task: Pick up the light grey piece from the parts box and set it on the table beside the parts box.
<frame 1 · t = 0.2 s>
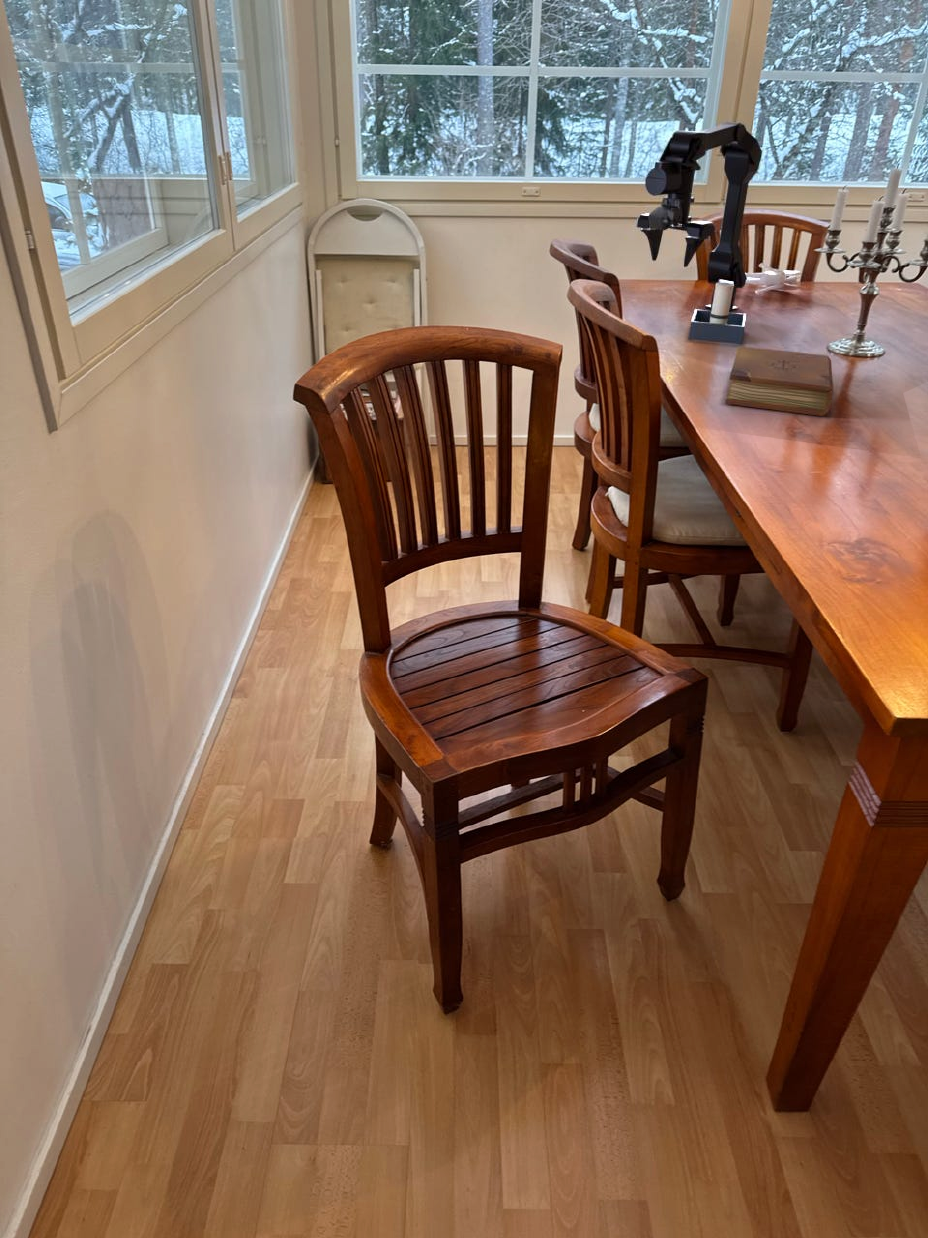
hand: (669, 263, 212), 14 cm above the table, tool pointing down, fingers open, 9 cm apart
figurine: (761, 291, 257), on the table
diary: (776, 394, 175), on the table
light grey piece: (715, 336, 209), point 1 cm above the table, touching parts box
parts box: (715, 337, 211), on the table
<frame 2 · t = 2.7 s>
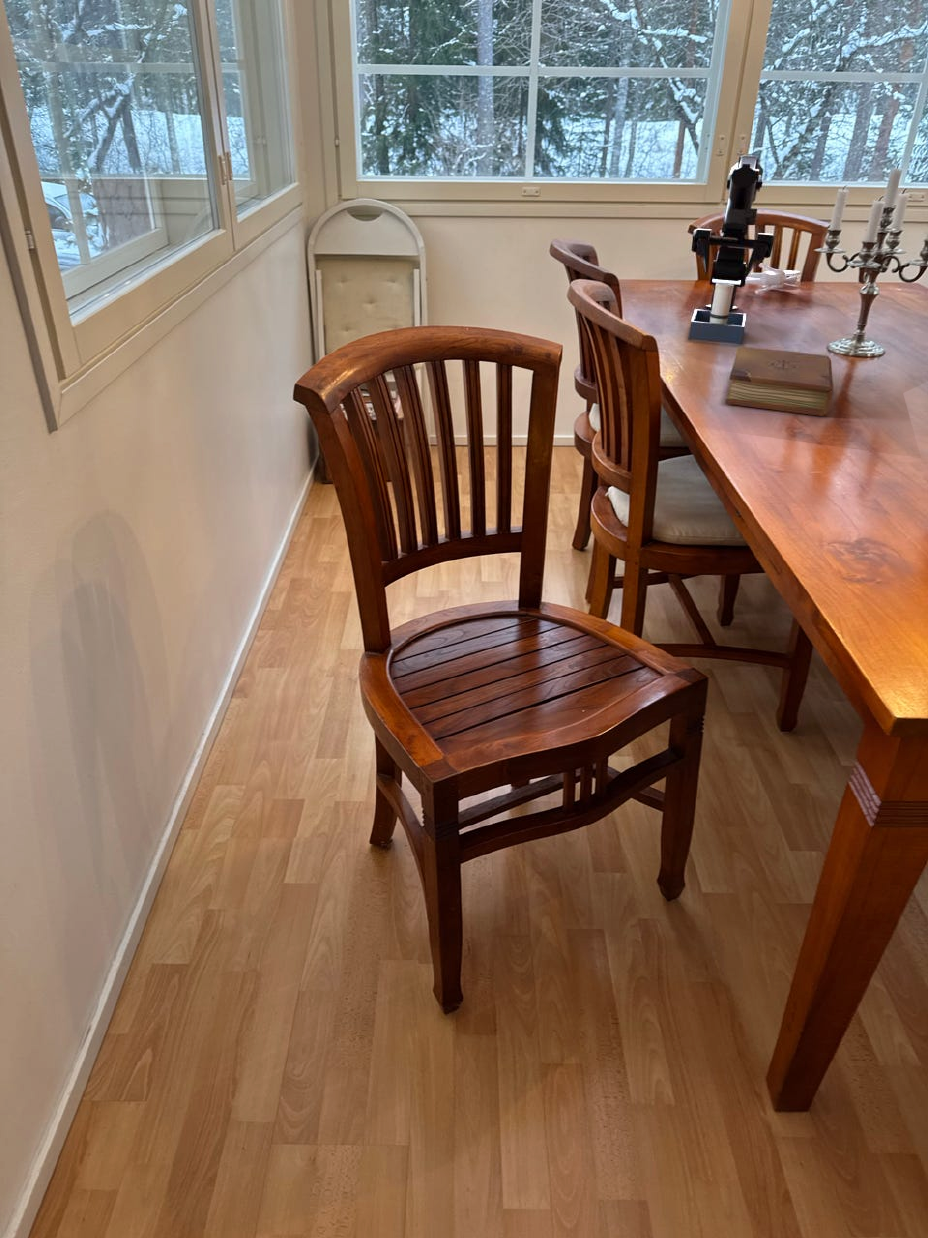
hand: (726, 274, 209), 13 cm above the table, tool tilted 45°, fingers open, 9 cm apart
nothing on the table moved.
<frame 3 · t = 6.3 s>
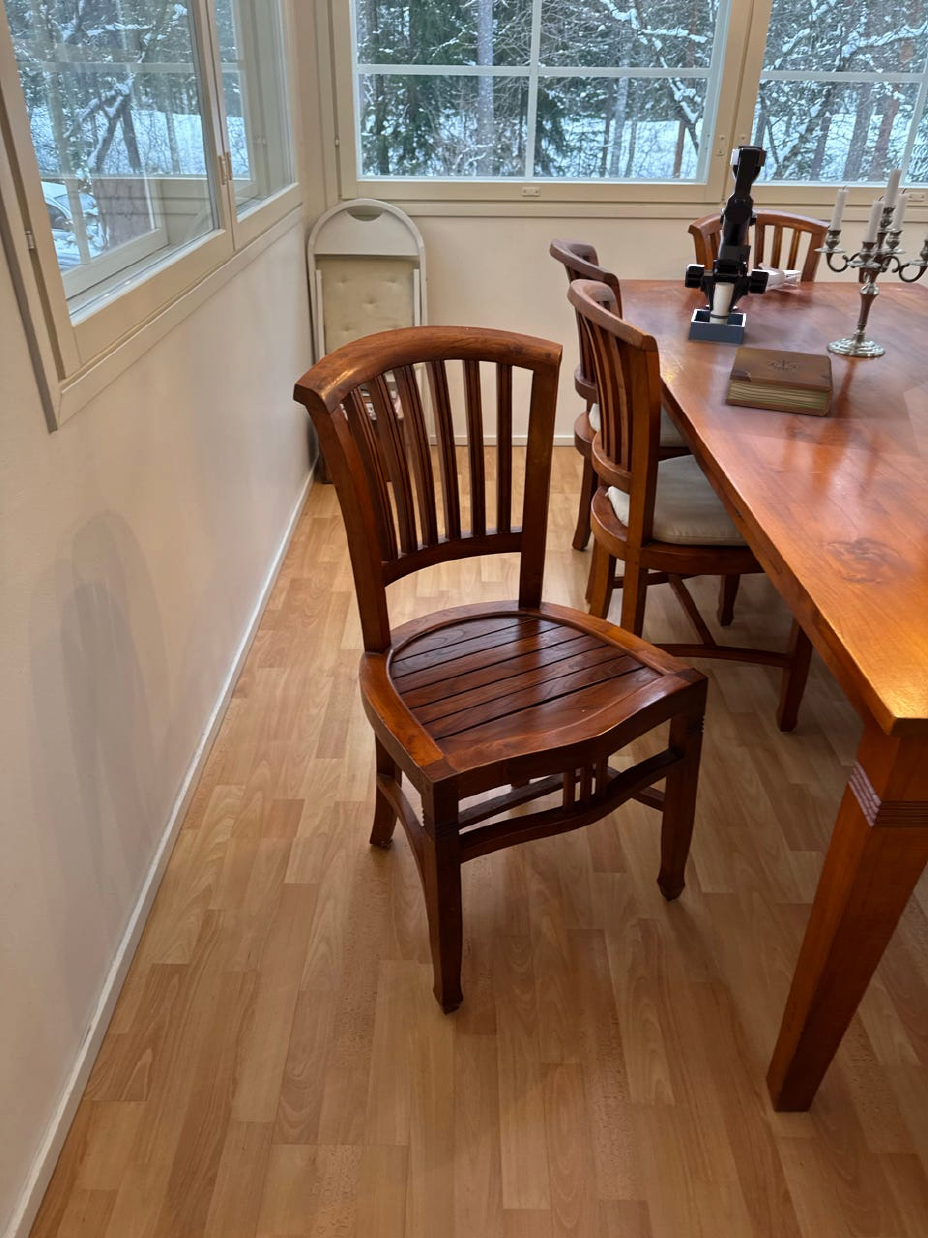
hand: (720, 310, 205), 7 cm above the table, tool tilted 45°, fingers closed on light grey piece, 4 cm apart
light grey piece: (715, 336, 209), point 1 cm above the table, touching gripper, parts box
everything else where it was.
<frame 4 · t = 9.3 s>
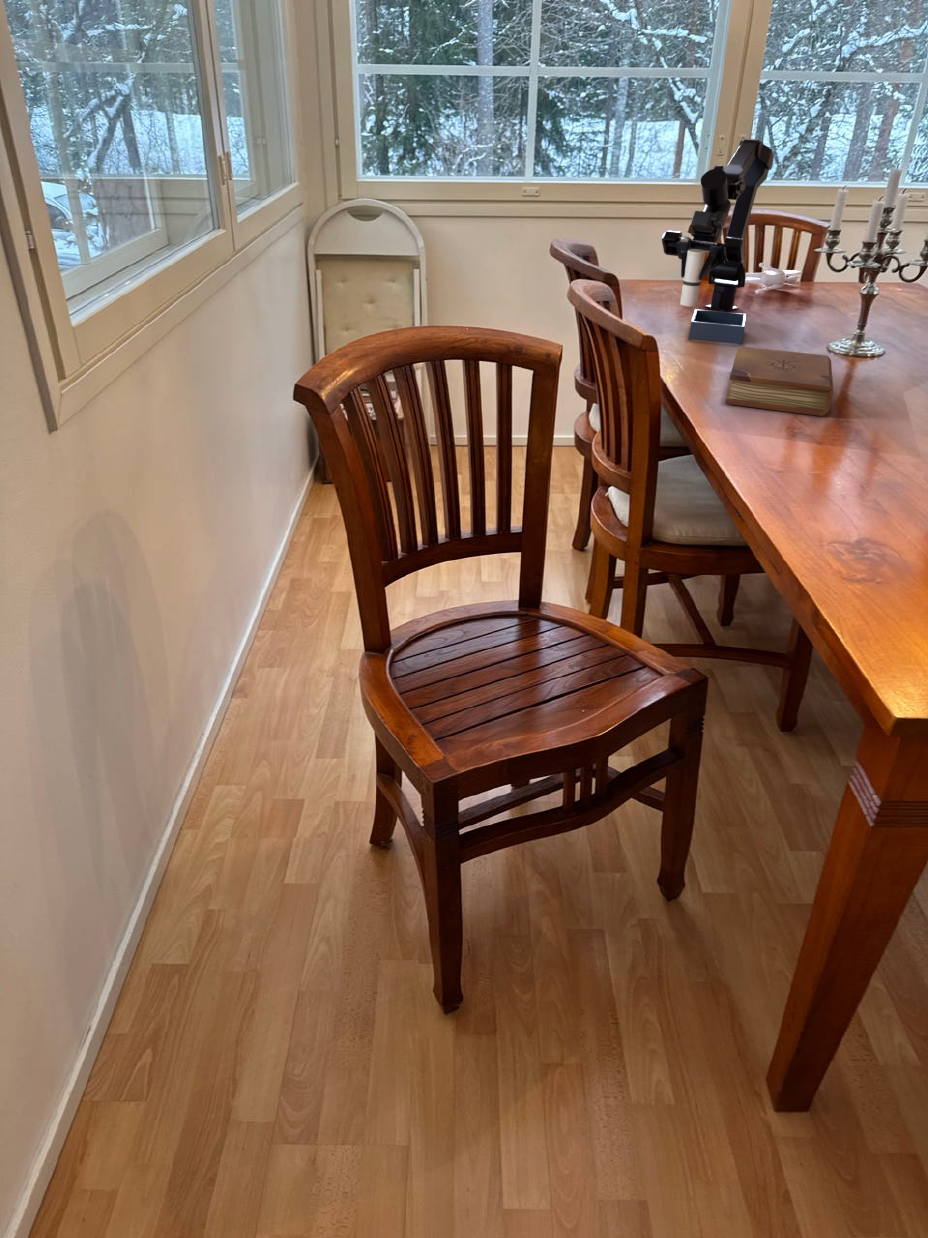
hand: (690, 277, 203), 13 cm above the table, tool tilted 45°, fingers closed on light grey piece, 4 cm apart
light grey piece: (688, 304, 208), point 7 cm above the table, touching gripper
everything else where it was.
when the fingers open (6 cm above the table, at t = 12.4 s): light grey piece stays where it is, on the table.
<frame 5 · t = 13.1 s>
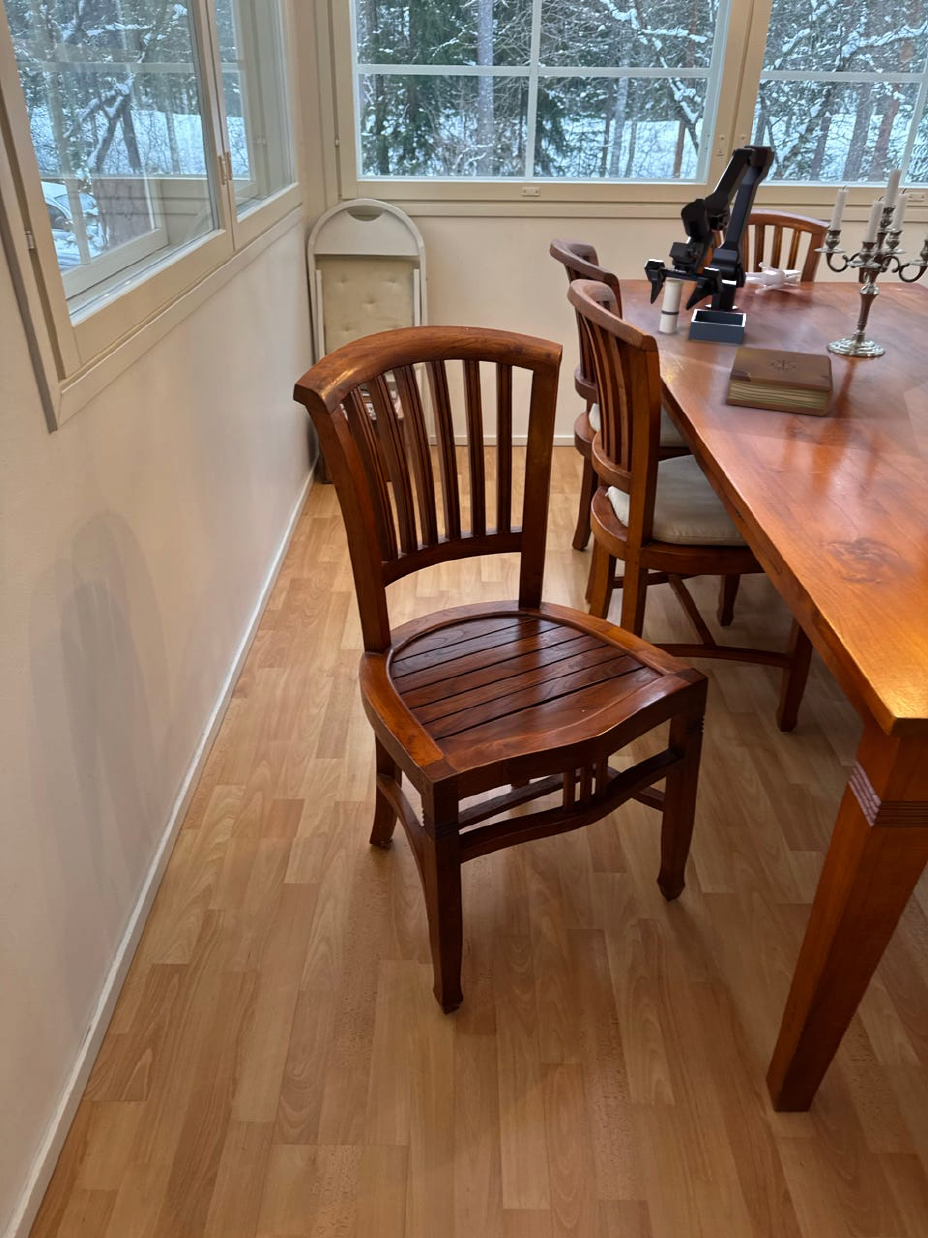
hand: (668, 305, 209), 7 cm above the table, tool tilted 45°, fingers open, 9 cm apart
light grey piece: (667, 332, 213), on the table
everything else where it was.
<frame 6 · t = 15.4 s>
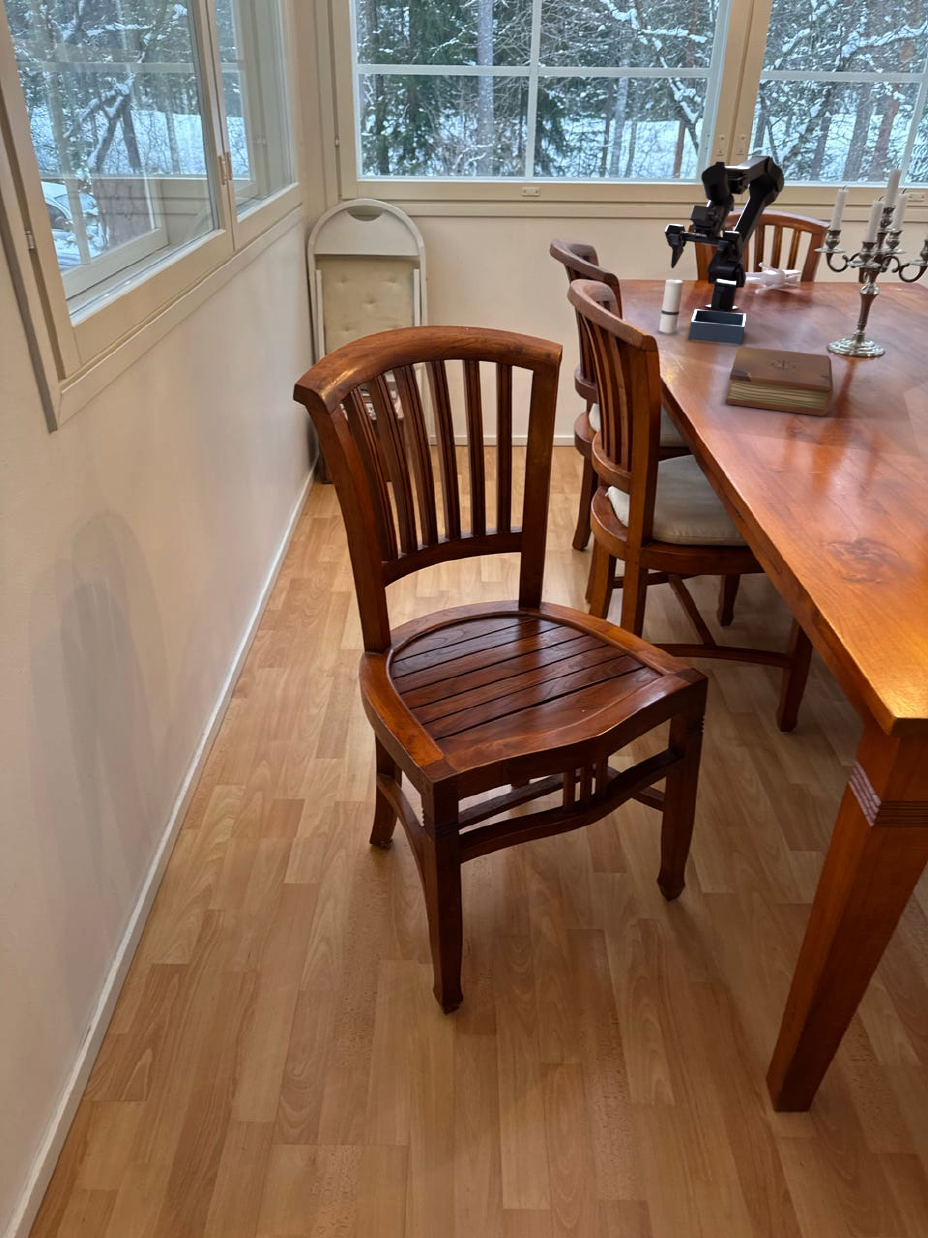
hand: (689, 269, 212), 13 cm above the table, tool tilted 45°, fingers open, 9 cm apart
nothing on the table moved.
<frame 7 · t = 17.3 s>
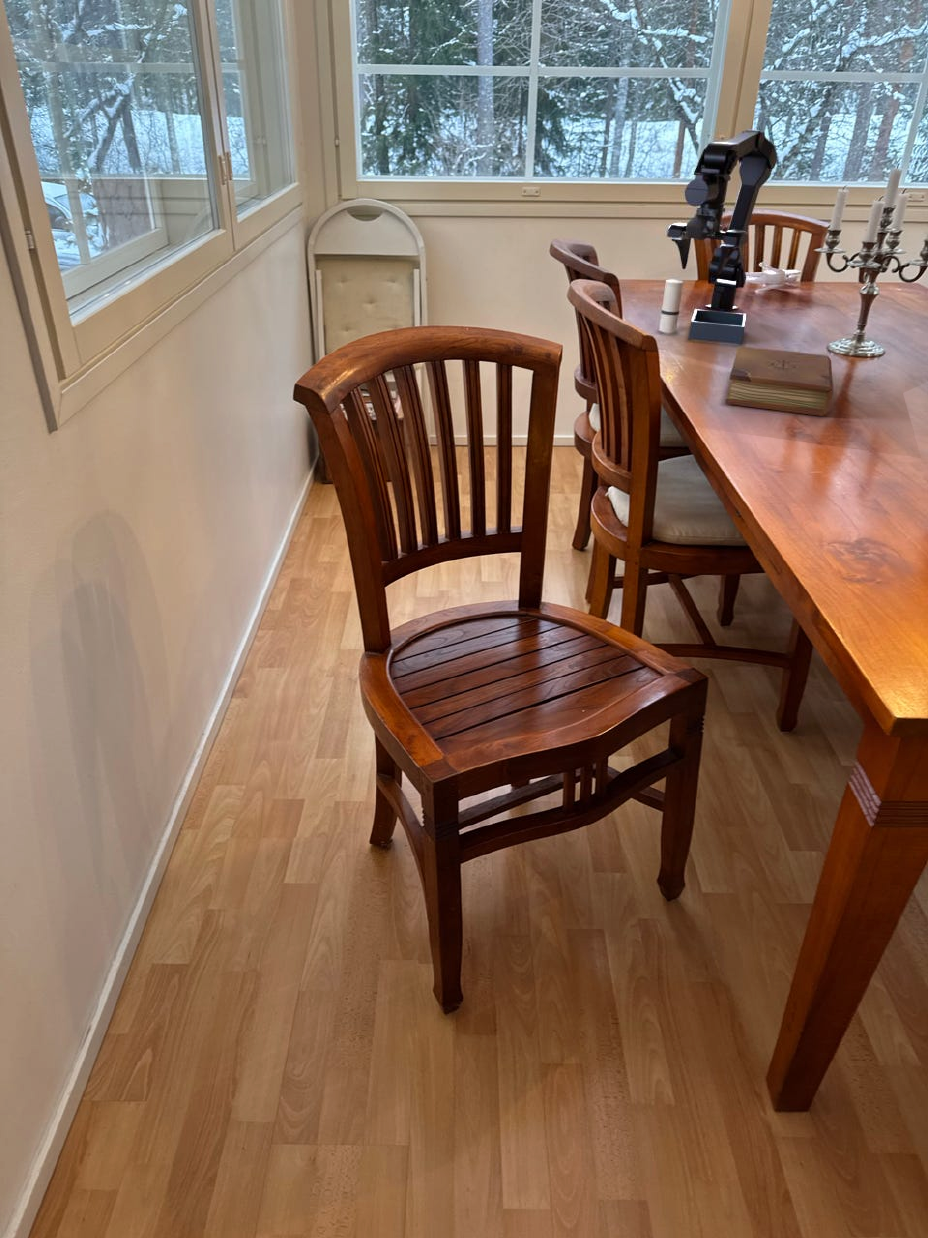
hand: (701, 271, 218), 12 cm above the table, tool pointing down, fingers open, 9 cm apart
nothing on the table moved.
at the end: light grey piece 0.1 cm from the target spot, on the table; light grey piece touching table; light grey piece tilted 0° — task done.
